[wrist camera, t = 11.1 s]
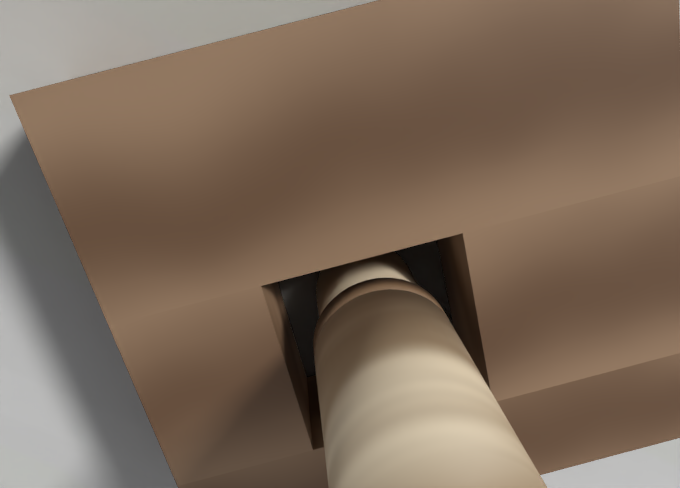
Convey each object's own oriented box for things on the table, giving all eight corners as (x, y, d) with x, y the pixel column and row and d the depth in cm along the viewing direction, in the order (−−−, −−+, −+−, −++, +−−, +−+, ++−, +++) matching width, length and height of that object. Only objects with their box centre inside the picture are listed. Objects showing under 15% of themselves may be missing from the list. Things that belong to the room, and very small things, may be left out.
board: (66, 80, 18) (9, 95, 14) (591, -55, 18) (676, -77, 14) (221, 474, 23) (210, 562, 19) (625, 367, 23) (693, 434, 19)
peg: (294, 252, 20) (311, 489, 10) (409, 222, 20) (546, 427, 10) (322, 353, 22) (364, 652, 11) (430, 324, 22) (570, 596, 11)
